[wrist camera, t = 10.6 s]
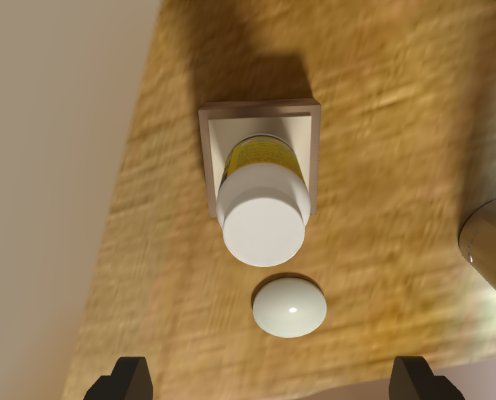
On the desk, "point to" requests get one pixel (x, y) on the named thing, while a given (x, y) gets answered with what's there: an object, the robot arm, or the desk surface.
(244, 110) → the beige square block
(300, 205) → the pill bottle
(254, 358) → the desk surface
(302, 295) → the pale white disc
